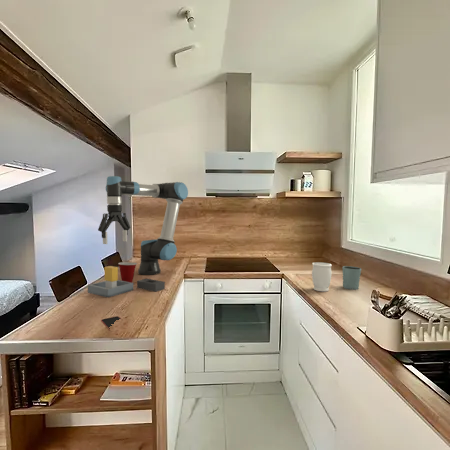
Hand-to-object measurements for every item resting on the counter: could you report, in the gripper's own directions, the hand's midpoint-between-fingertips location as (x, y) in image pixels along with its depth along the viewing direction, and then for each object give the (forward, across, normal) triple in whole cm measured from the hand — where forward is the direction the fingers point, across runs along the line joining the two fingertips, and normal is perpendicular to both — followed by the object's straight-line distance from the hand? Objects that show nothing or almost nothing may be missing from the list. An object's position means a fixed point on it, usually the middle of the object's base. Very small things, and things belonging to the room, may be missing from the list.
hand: (115, 242), depth 161 cm
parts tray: (+25, +8, +6) cm, 27 cm away
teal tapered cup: (+28, -71, +116) cm, 139 cm away
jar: (+27, -57, +102) cm, 119 cm away
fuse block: (+25, -7, +19) cm, 32 cm away
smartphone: (+25, +38, +43) cm, 62 cm away
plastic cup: (+26, -10, -2) cm, 27 cm away
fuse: (+24, +8, +6) cm, 26 cm away
